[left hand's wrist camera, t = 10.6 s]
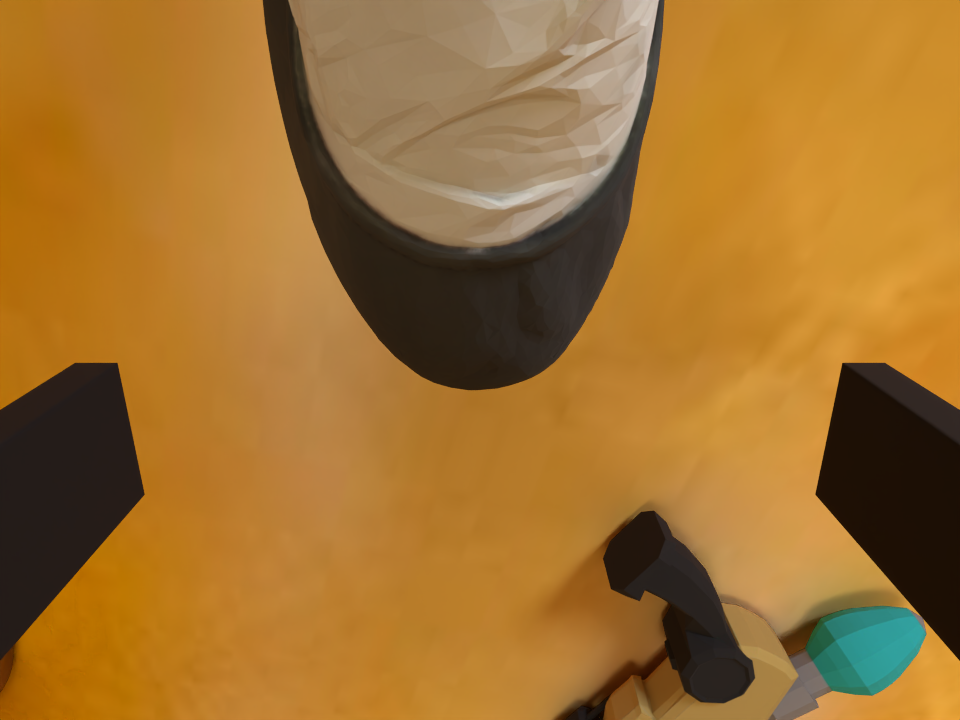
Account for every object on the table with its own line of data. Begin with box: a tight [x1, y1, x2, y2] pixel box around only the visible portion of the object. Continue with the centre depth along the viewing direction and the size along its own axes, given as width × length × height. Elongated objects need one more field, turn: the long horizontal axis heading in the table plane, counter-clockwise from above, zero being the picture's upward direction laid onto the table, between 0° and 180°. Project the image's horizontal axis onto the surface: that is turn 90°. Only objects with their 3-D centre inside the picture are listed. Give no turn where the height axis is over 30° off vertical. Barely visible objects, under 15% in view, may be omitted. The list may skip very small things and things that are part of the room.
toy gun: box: [565, 511, 926, 720], centre depth 35 cm, size 4×26×15 cm
